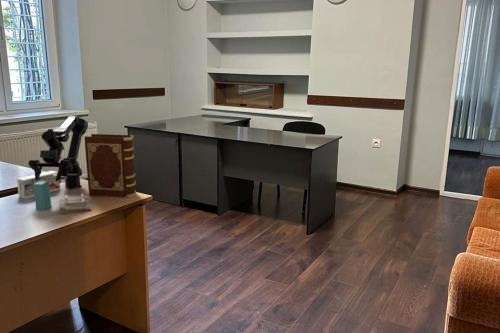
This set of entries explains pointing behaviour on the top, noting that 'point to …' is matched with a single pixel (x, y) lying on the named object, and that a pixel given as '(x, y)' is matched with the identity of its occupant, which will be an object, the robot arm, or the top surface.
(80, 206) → the book stand
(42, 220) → the top surface
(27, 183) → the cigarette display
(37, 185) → the teal rectangular block
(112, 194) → the decorative book
